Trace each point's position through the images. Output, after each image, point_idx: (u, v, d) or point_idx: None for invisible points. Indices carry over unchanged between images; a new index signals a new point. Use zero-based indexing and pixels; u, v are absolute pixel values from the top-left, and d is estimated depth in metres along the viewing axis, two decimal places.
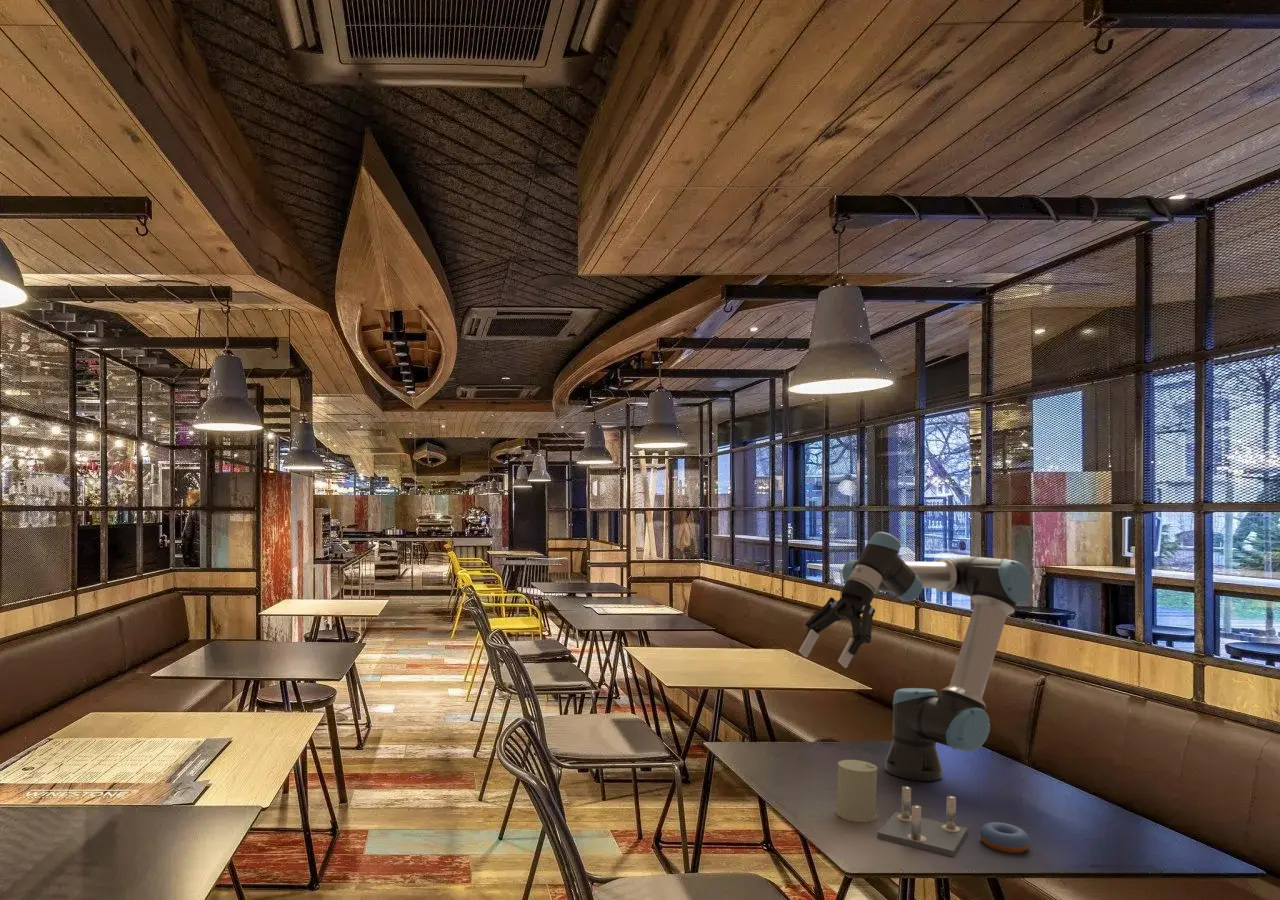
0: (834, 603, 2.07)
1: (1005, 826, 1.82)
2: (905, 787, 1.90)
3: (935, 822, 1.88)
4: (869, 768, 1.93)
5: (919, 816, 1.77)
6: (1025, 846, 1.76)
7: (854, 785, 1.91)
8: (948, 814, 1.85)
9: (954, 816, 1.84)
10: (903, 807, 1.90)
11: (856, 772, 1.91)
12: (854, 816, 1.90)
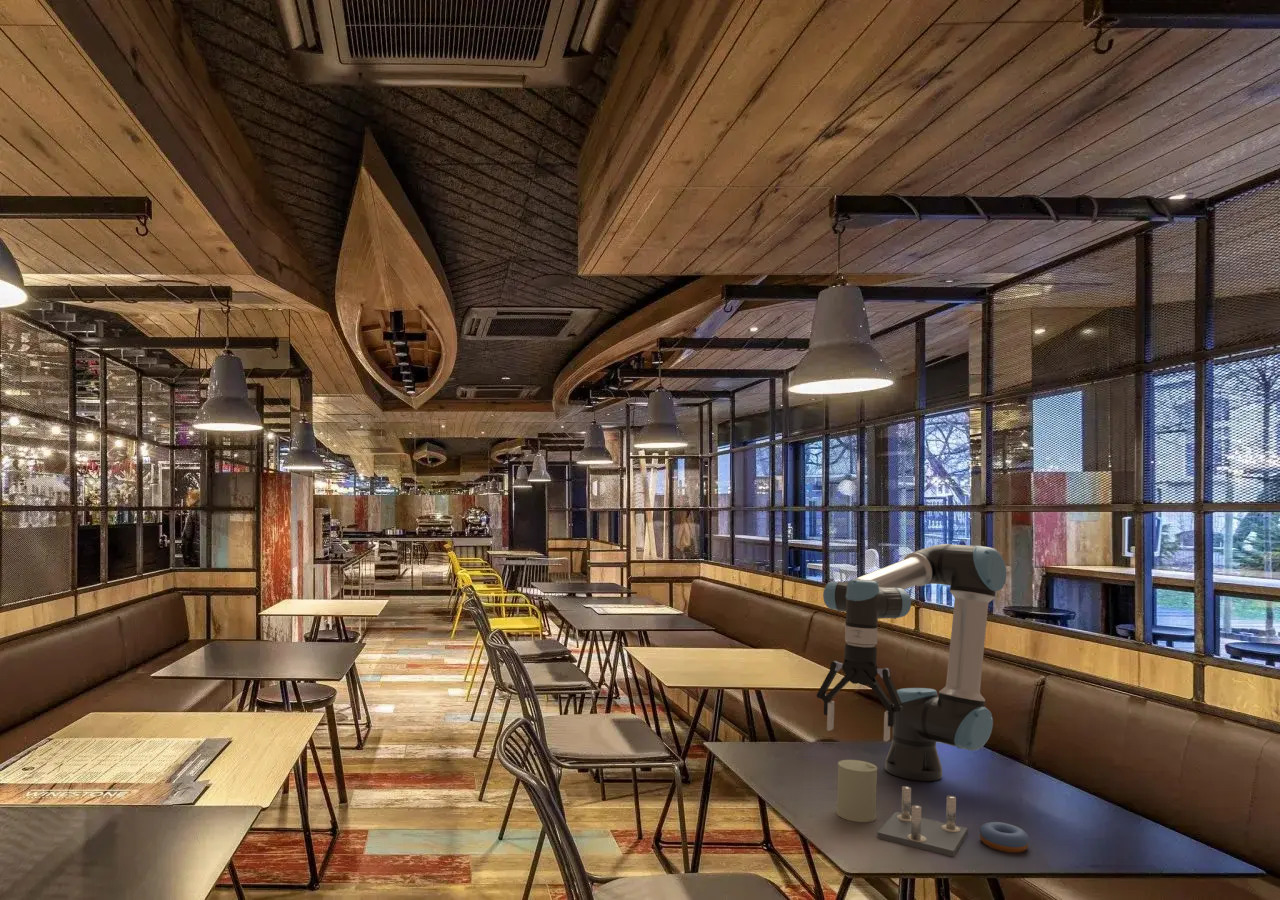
0: (838, 667, 1.99)
1: (1004, 826, 1.82)
2: (905, 787, 1.90)
3: (935, 822, 1.88)
4: (869, 768, 1.93)
5: (919, 816, 1.77)
6: (1024, 846, 1.76)
7: (854, 785, 1.91)
8: (948, 814, 1.85)
9: (954, 816, 1.84)
10: (903, 807, 1.90)
11: (856, 772, 1.91)
12: (854, 816, 1.90)
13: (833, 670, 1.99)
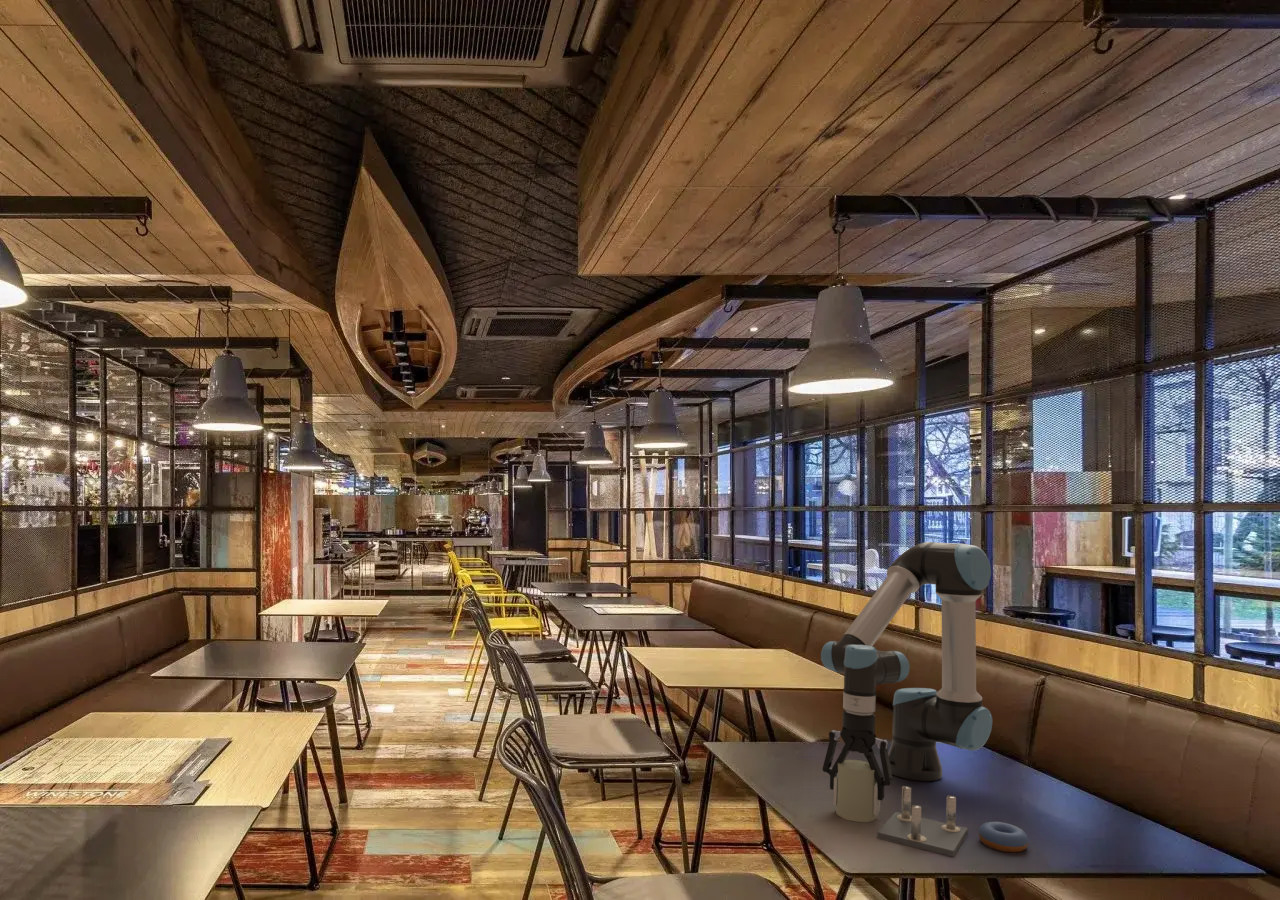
0: (836, 736, 1.98)
1: (1004, 825, 1.83)
2: (905, 787, 1.90)
3: (935, 822, 1.88)
4: (869, 768, 1.93)
5: (919, 816, 1.77)
6: (1024, 845, 1.76)
7: (854, 785, 1.91)
8: (948, 814, 1.85)
9: (954, 816, 1.84)
10: (903, 807, 1.90)
11: (856, 772, 1.91)
12: (854, 816, 1.90)
13: (832, 740, 1.97)
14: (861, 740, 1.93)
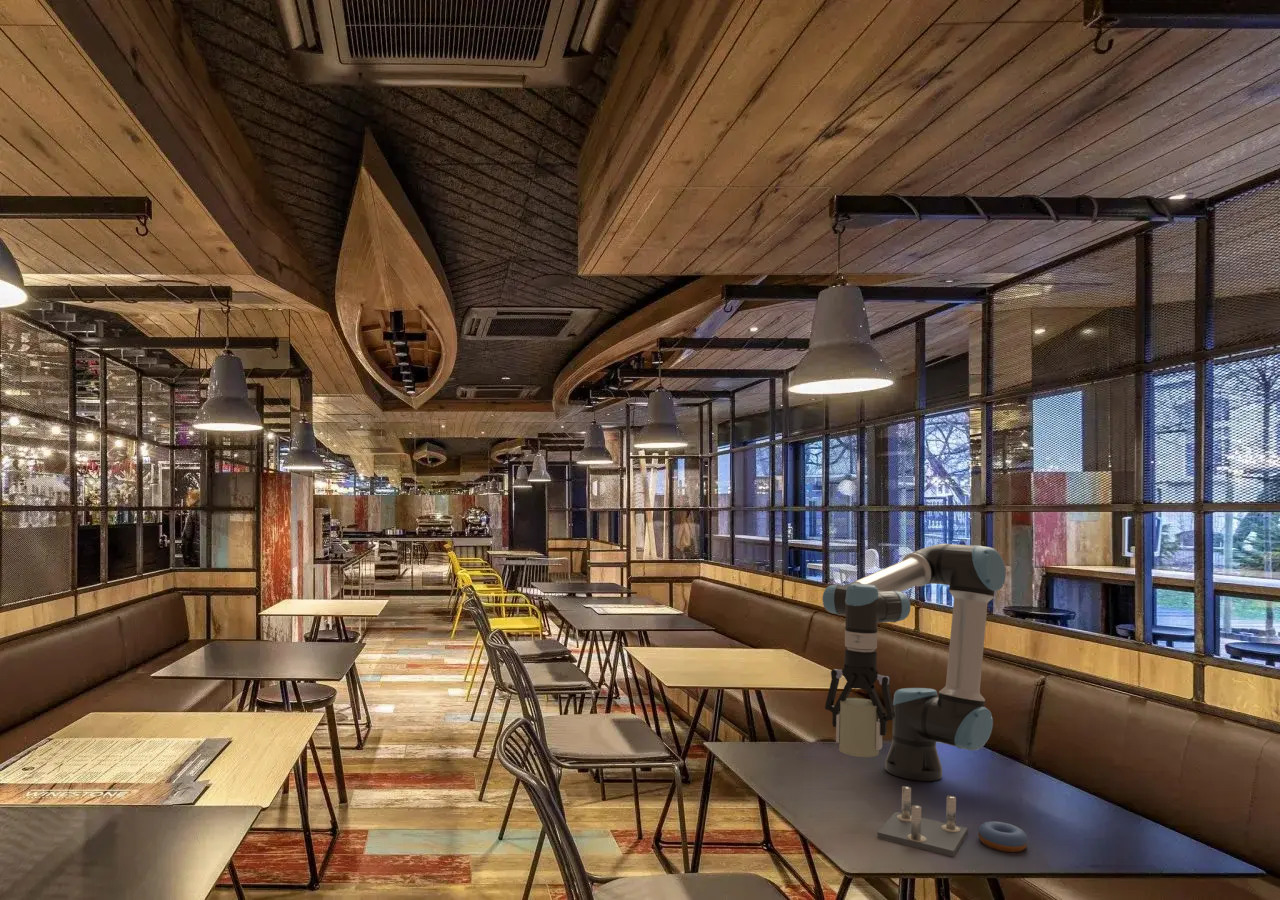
0: (839, 674, 1.99)
1: (1003, 825, 1.83)
2: (905, 787, 1.90)
3: (935, 822, 1.88)
4: (871, 704, 1.95)
5: (919, 816, 1.77)
6: (1023, 845, 1.76)
7: (857, 721, 1.92)
8: (948, 814, 1.85)
9: (954, 816, 1.84)
10: (903, 807, 1.90)
11: (858, 708, 1.92)
12: (857, 751, 1.91)
13: (835, 678, 1.99)
14: (863, 677, 1.94)
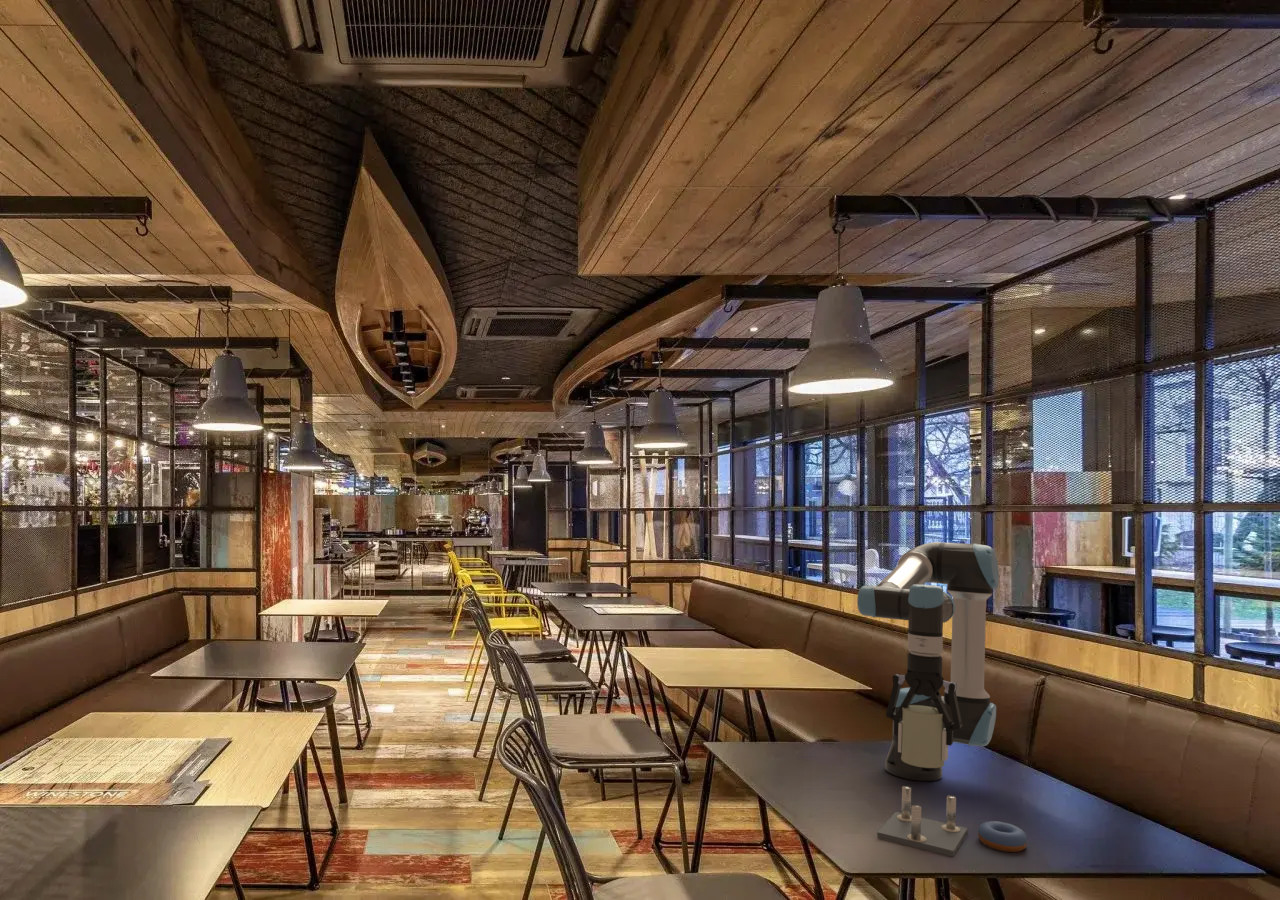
0: (901, 679, 1.88)
1: (1003, 825, 1.83)
2: (905, 787, 1.90)
3: (935, 822, 1.88)
4: (936, 712, 1.84)
5: (919, 816, 1.77)
6: (1023, 845, 1.76)
7: (922, 729, 1.81)
8: (948, 814, 1.85)
9: (954, 816, 1.84)
10: (903, 807, 1.90)
11: (923, 715, 1.81)
12: (922, 762, 1.80)
13: (897, 684, 1.88)
14: (928, 683, 1.84)
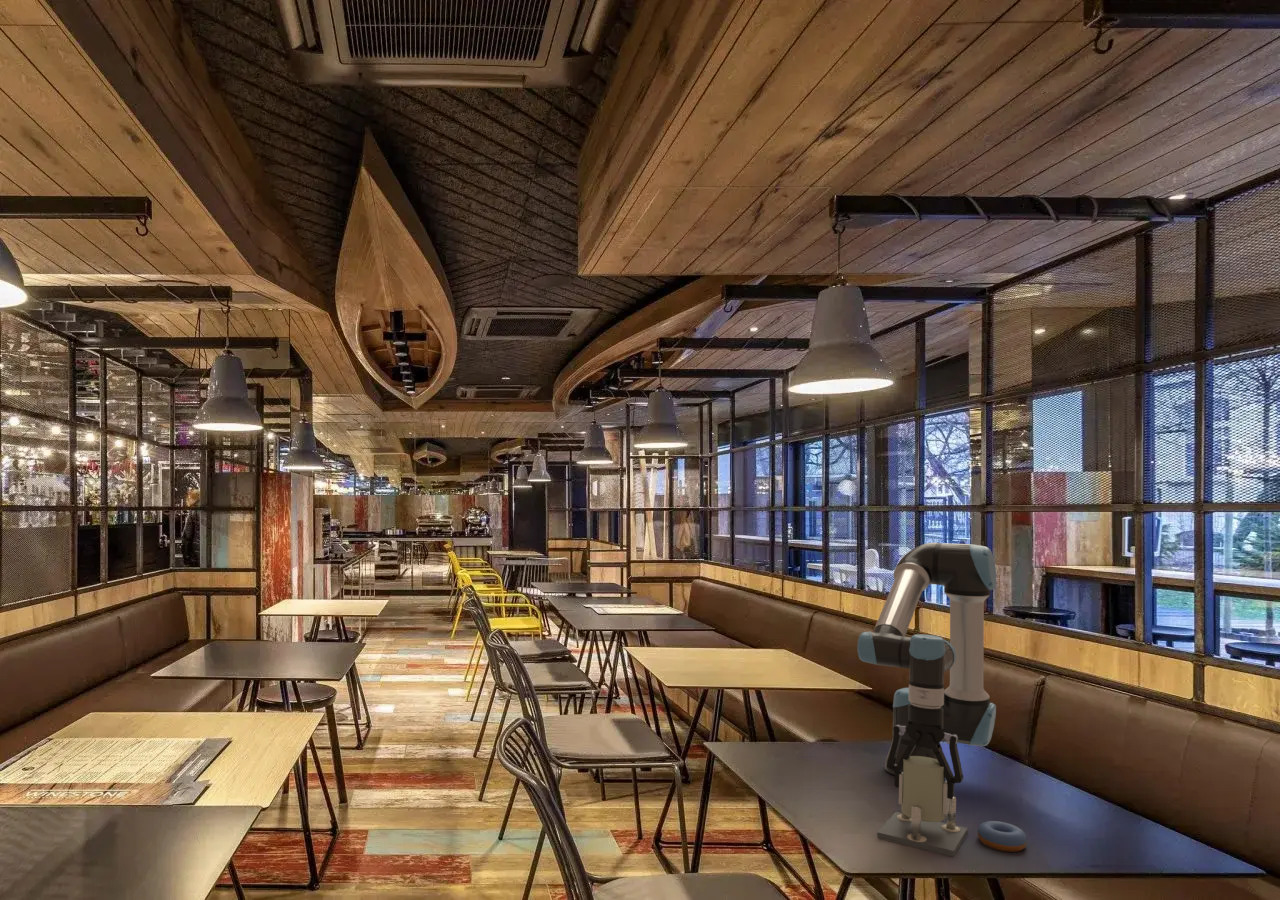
0: (901, 730, 1.87)
1: (1002, 825, 1.83)
2: None
3: (935, 822, 1.88)
4: (937, 764, 1.83)
5: (919, 816, 1.77)
6: (1022, 845, 1.77)
7: (923, 783, 1.80)
8: (948, 814, 1.85)
9: (954, 816, 1.84)
10: None
11: (924, 769, 1.80)
12: (923, 816, 1.79)
13: (897, 735, 1.87)
14: (929, 735, 1.83)
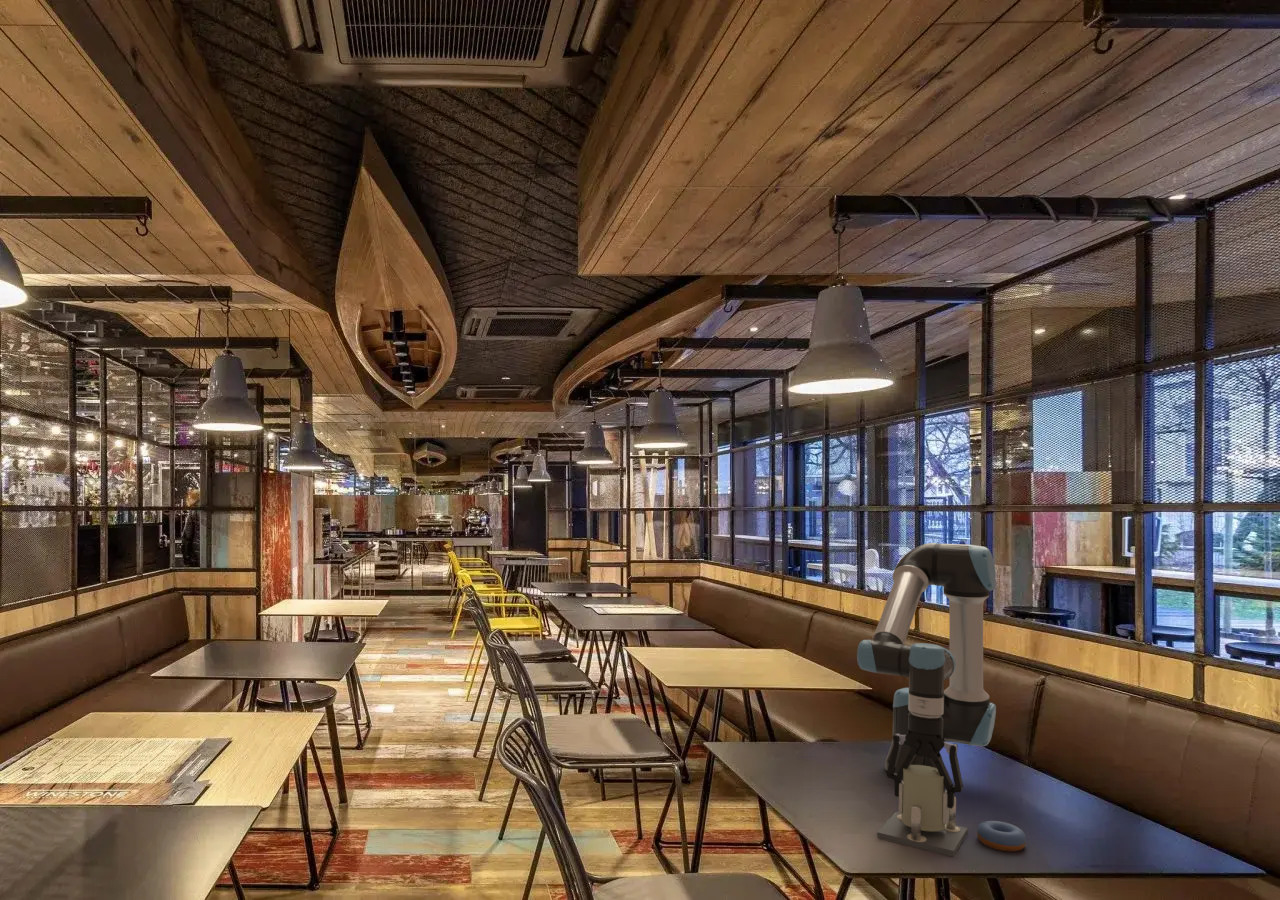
0: (901, 739, 1.87)
1: (1002, 825, 1.83)
2: None
3: None
4: (937, 774, 1.83)
5: (919, 816, 1.77)
6: (1022, 844, 1.77)
7: (923, 792, 1.80)
8: None
9: (954, 816, 1.84)
10: None
11: (924, 778, 1.80)
12: (923, 825, 1.79)
13: (897, 744, 1.87)
14: (929, 744, 1.82)
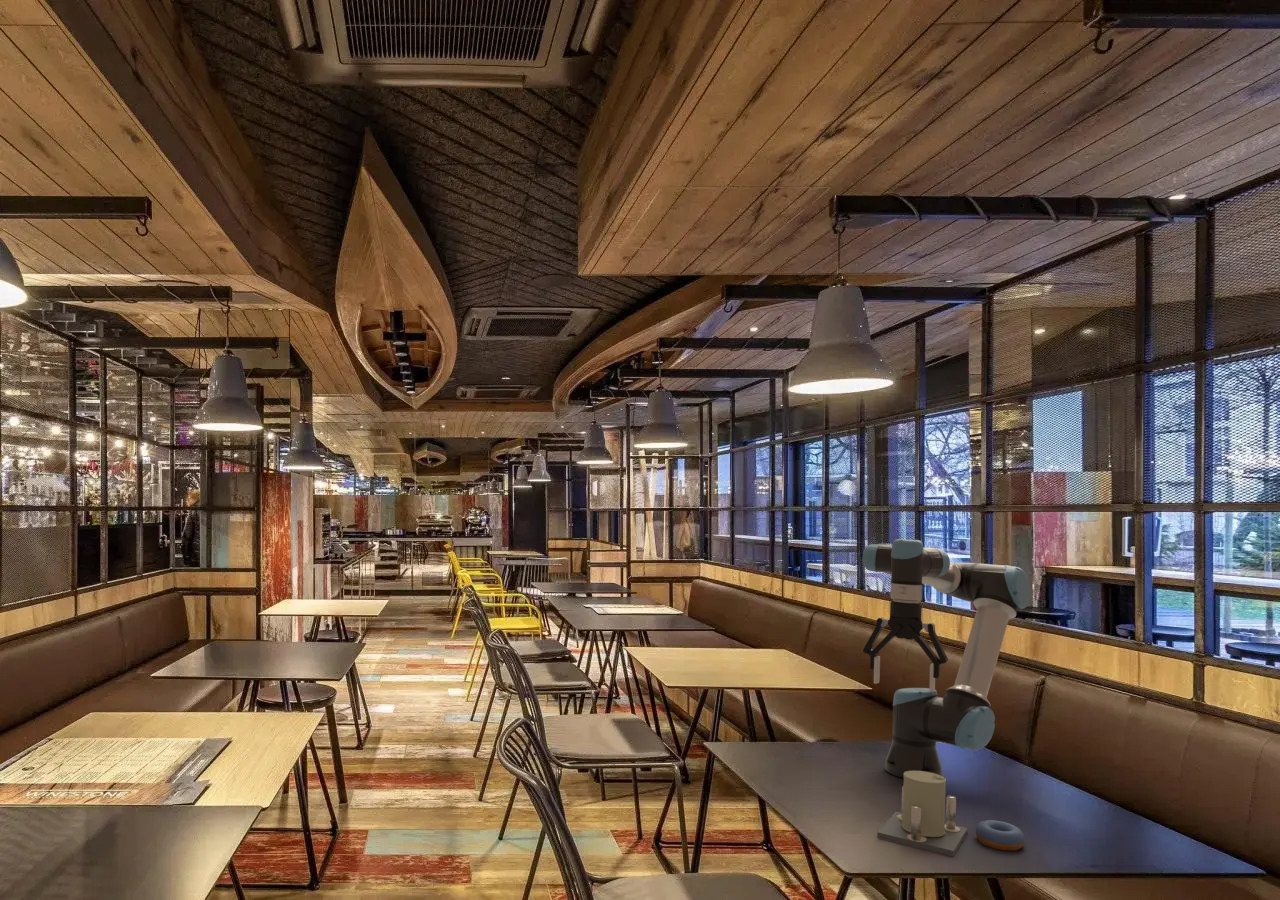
0: (884, 623, 2.08)
1: (1000, 824, 1.83)
2: None
3: None
4: (937, 779, 1.83)
5: (919, 816, 1.77)
6: (1020, 844, 1.77)
7: (923, 798, 1.80)
8: (948, 814, 1.85)
9: (954, 816, 1.84)
10: None
11: (925, 783, 1.80)
12: (923, 831, 1.79)
13: (879, 626, 2.08)
14: (908, 626, 2.03)
